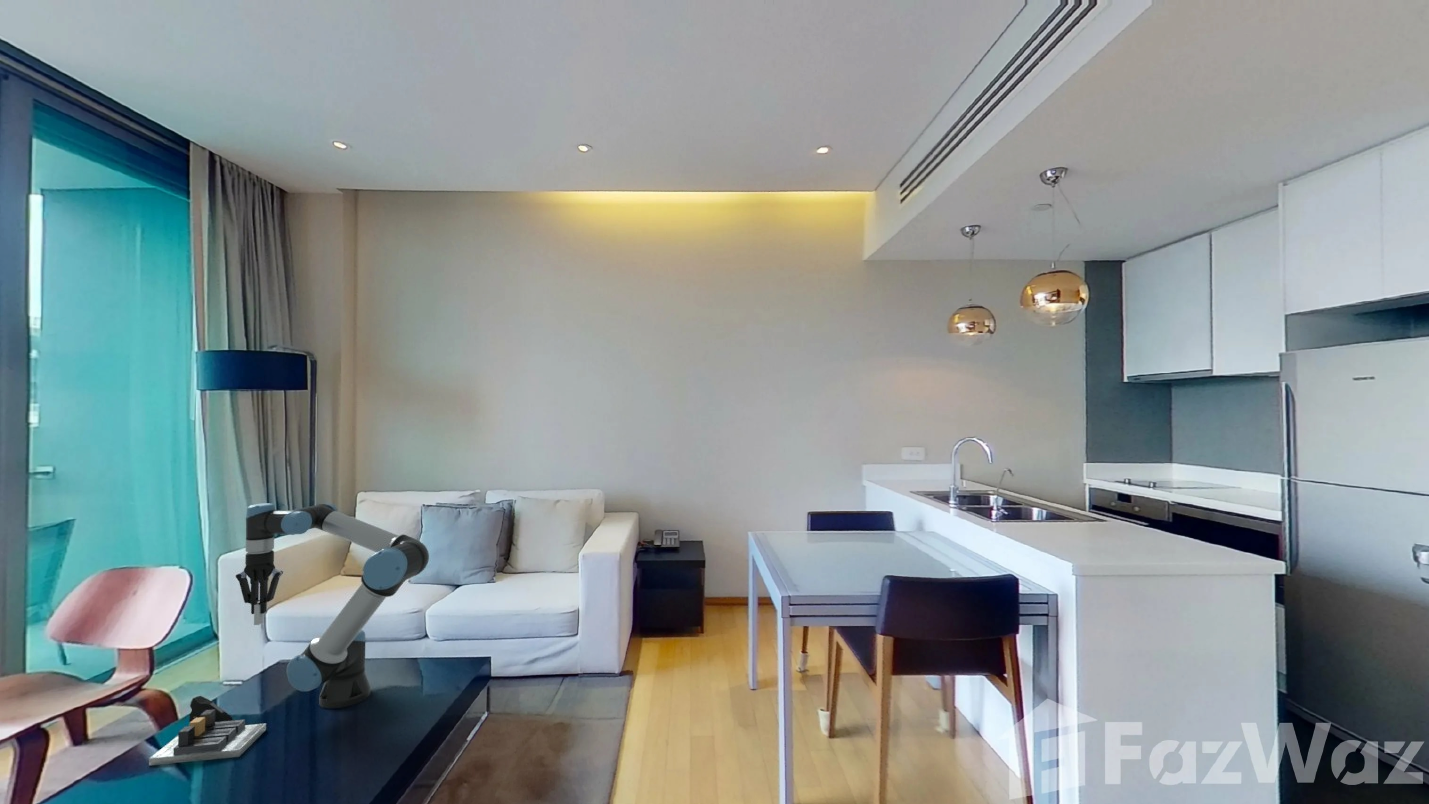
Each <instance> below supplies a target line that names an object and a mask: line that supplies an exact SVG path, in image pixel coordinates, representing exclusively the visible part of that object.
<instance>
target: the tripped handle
mask: <svg viewBox="0 0 1429 804" xmlns="http://www.w3.org/2000/svg"><path fill="white" fill-rule="evenodd" d="M188 723H189V722H188ZM188 726H195V736H199V735H200V734H202V733H203V732H204V731H205V717H200V718H197V717H196V718H195V719H194V720H193V721H191V722H190V723H189V724H188Z"/></svg>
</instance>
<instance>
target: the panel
mask: <svg viewBox="0 0 1429 804" xmlns="http://www.w3.org/2000/svg"><path fill="white" fill-rule="evenodd" d="M200 717H205V731H204V732H203V733H202V734H200V735H199V736H195V726H189V725H188V726H184V727H183V728H182V729H180V730H179V731H177V732H178V734H177V735H176V736H175V737H174V738H173V739H172V740H170V741H169V742H168V743H166V745H164V746H163V747H162V748H161V749H159V750H158V751H157V752H155V753H154V754H153V755H152V756H150V757H149V759H148V760H149V761H148V762H149V763H148V766H160V765H170V764H178V763H188V762H189V763H190V762H200V761H207V760H218V759H219V760H220V759H221V760H222V759H229V758H239V757H241V755H242V754H244V752H245V751H247V750H248V749H249V748H250V747H251V746H252V745H253V744H254V743H255V742H256V740H257V739H258V738H260V736H261V735H262V734H263V733H264V732H266V731H267V723H256V724H246V719H236V720H235V719H233V721H223V722H215V709H213V710H206V711H204V712H203V713H202V714H201V715H200Z"/></svg>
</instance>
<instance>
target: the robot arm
mask: <svg viewBox="0 0 1429 804" xmlns="http://www.w3.org/2000/svg"><path fill="white" fill-rule="evenodd" d="M245 526H246V527H245V531H246V532H245V552H246V553H245V557H244V558H245V560H244V561H245V563H244V564H245V566H244V568H243V571H241V572H240V573H237V574H236V575H235V578H236V579H237V581H238V582H239V586H240V591H241V594H242V598H243V602H244V604H250V609H251V610H250V613H251V615H253V626H259V625H261V624H263V623H264V614H265V613H267V609H268V608H267V605H268V603H269V602H271V601H273V600H274V598H275V594H276V592H277V591H276V590H277V588H278V584H279V580H280V578H281V576H282V575H283V573H284V571H283V570H278V569H276V566H275V563H274V561H275V551H274V549H275V535H276V534H277V535H291V536H295V535H303V534H305V533H307V532H308V531H309V530H311V529H312V530H313V529H318V530H320V531H322V532H325V533H329V534H331V535H333V536H335V537H338V538H341V539H343V540H345V541H348V542H349V543H353V544H355V545H357V546H360V547H362V548H365V549H367V550H370V551H371V552H375V553H373V554H372V555H369V557H368V558H367V560H366V561H365V562H364V564H363V567H362V571H363V573H362V575H361V577H360V582H361V584H360V585H359V587H358V588H357V589H356V590H355V592H354V593H353V595H352V596H351V597H350V599H349V600H348V601H347V602H346V604H345V605H344V607H343V608H342V609H341V610H340V612H339V613H338V614H337V616H336V617H335V618H334V619H333V621H332V622H331V623H330V625H329V626H328V627H327V629H326V630H325V631H324V633H323V634H322V635H318V636H316V637H315V638H313V639H312V641H310V643H309V644H308V645H307V647H306V648H305V650H304V651H302V653H300V654H298V655H296V656H294V657H293V658H292V659H291V660H289V662H288V664H287V666H286V676H287V680H288V683H289V684H290V685H291V686H292V687H293V688H294V689H296V690H298V691H300V692H310V691H312V690H314V689H318V688H319V687H320V686H322V689H321V690H320V693H319V698H318V705H319V706H320V707H322V708H324V709H339V708H346V707H347V708H348V707H350V706H354V705H357V704H359V703H361V702H363V701H365V700H366V699H368V698H369V697H370V696H371V684H370V682H369V680H368V676H367V674H366V643H367V639H366V633H365V631H364V630H363V628H364V627H365V625H366V624H367V623H368V622H369V620H370V619H371V617H372V616H373V615H374V614H375V612H376V611H377V610H378V608H379V607H380V606H381V605H382V603H383V602H384V601H385V600H386V598H391V597H392V596H395V594H396V593H397V591H399V589H400V588H401V587H402V585H403V583H404V582H405V581H407V580H409V579H411V578H413V577H415V576H417V575H420V574H421V573H422V572H423V571H425V569H426V568H427V566H428V563H429V561H430V560H429V559H430V553H429V550H428V548H427V546H426V545H425V544H424V543H423V542H421V541H420V540H418V539H416V538H413V536H412V537H411V536H409V535H407V534H400V535H398V534H396V533H393V532H390V531H388V530H385V529H382V528H380V527H378V526H375V525H372V524H370V523H367V522H364V521H362V520H360V519H357V518H355V517H352V516H349V515H348V514H344V513H343V512H339V510H338V508H336V506H335V505H334V504H331V503H318V504H316V505H312V506H307V507H301V508H295V509H291V510H276V505H275V504H274V503H268V502H267V503H263V502H262V503H256V504H255V503H254V504H251V505H249V506H248V507H247V508H246V515H245ZM271 575H272V578H271V581H270V585H269V584H268V583H269V577H270V576H271ZM247 577H248V578H249V579H250V580H248V578H247ZM249 582H250V583H249ZM249 584H250V585H249ZM268 585H269V586H268ZM268 587H269V588H268Z"/></svg>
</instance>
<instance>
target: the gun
mask: <svg viewBox="0 0 1429 804" xmlns="http://www.w3.org/2000/svg"><path fill="white" fill-rule="evenodd" d="M189 707H190V709H191V711H190V714H189V719H188V721H189V722H188V723H190V722H191V721H193V720H194V719H195V718H200V715H201V714H202V713H203V712H204V711H206V710H213V709H215V722H223V721H234V719H233V717H232V716H231V715H230V714H229V713H228V712H227V711H225V710H223V708H222V707H220V706H218V705H217V704H216V703H215V702H213V701H212V700H211V699H208V698H206V697H204V696H202V695H199V696H195V697H193V698H192V700H191V701H190V705H189Z"/></svg>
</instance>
